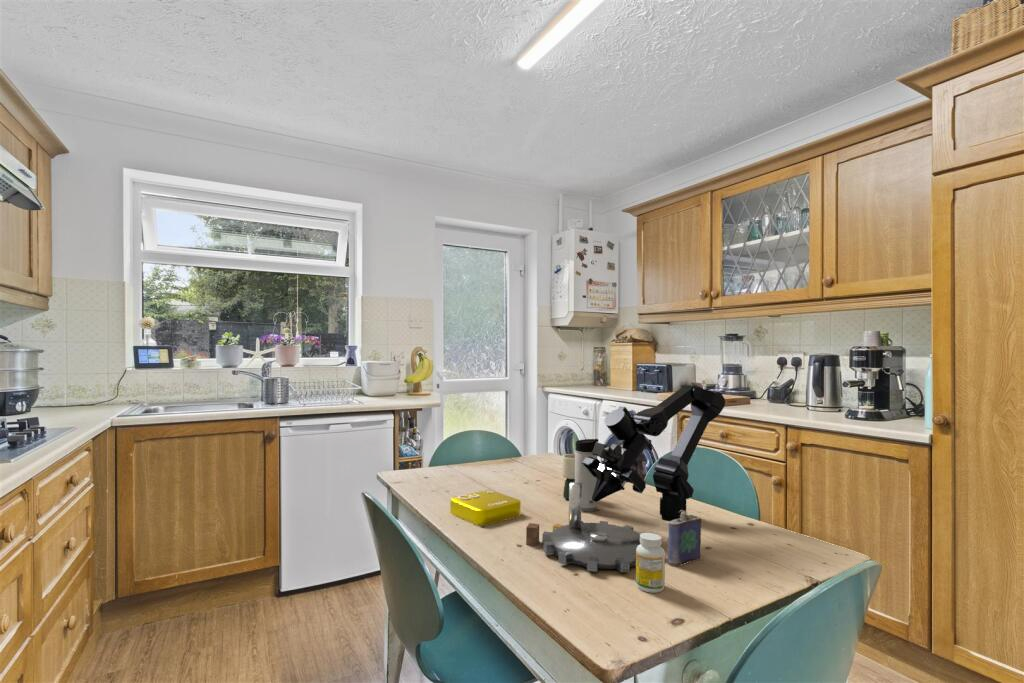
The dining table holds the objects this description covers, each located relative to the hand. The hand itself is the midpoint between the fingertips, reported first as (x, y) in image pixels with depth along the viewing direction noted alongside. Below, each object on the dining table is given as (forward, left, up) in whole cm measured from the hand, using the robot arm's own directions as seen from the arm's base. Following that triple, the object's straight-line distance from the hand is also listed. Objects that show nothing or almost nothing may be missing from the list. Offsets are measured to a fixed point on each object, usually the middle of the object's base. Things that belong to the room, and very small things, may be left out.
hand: (593, 500), depth 125 cm
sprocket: (-2, +10, -8) cm, 13 cm away
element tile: (+30, -7, -9) cm, 33 cm away
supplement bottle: (-14, +25, -9) cm, 29 cm away
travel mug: (+4, -20, -8) cm, 22 cm away
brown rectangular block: (+13, +10, -8) cm, 18 cm away
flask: (-21, +10, -9) cm, 24 cm away
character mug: (+9, -29, -9) cm, 32 cm away
